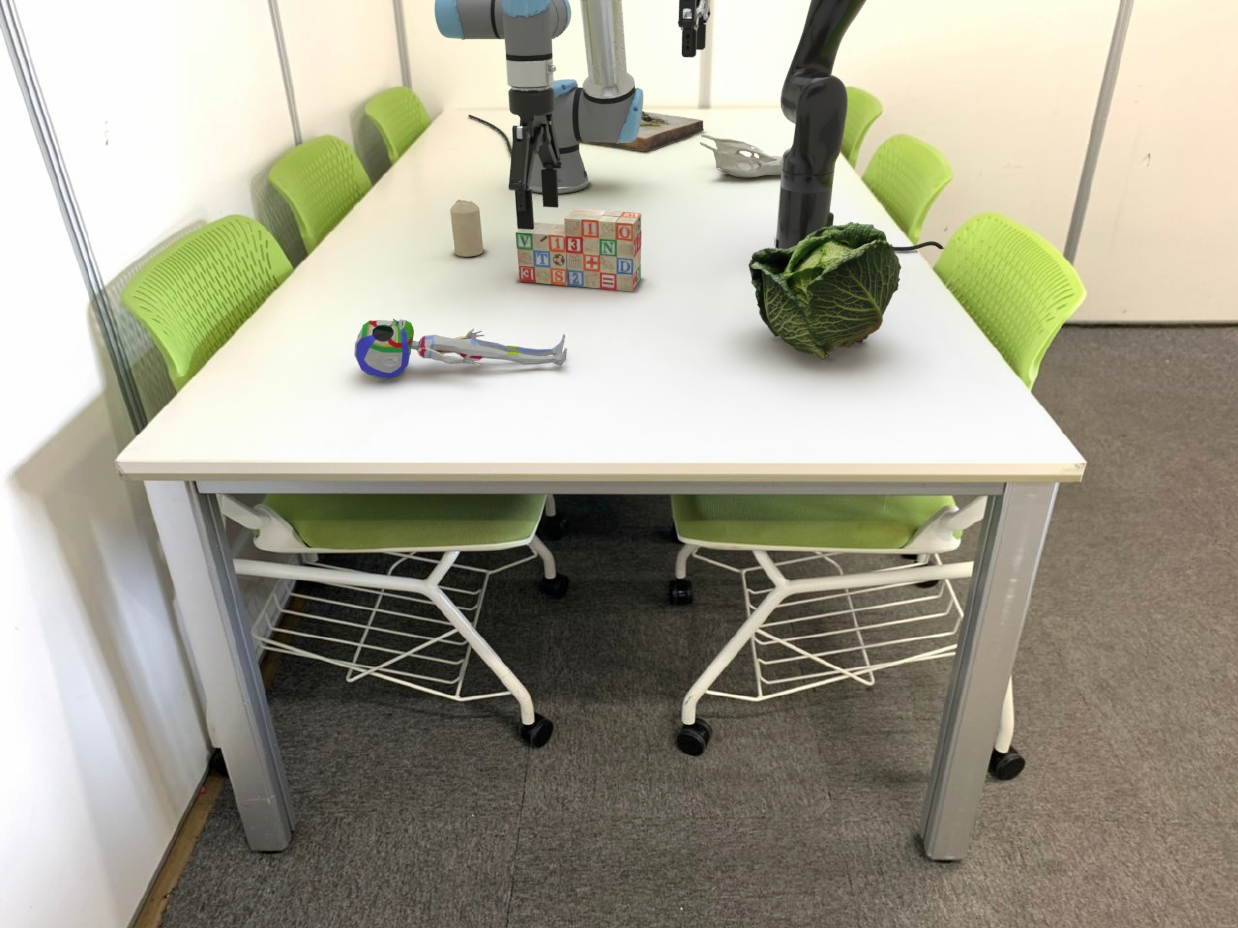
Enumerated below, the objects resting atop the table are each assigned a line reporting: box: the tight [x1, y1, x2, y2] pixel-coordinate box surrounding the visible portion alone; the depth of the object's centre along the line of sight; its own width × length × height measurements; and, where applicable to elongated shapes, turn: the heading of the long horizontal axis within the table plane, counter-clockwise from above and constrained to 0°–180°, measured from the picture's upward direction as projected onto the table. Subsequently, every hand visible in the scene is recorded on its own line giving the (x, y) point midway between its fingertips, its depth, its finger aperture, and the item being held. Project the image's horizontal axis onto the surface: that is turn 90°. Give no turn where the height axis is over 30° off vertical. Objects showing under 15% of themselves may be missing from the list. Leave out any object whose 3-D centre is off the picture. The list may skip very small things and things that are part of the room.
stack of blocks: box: [515, 207, 642, 293], centre depth 158 cm, size 21×6×12 cm, turn 76°
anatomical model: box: [699, 133, 783, 178], centre depth 218 cm, size 15×9×25 cm
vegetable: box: [748, 221, 902, 360], centre depth 132 cm, size 20×19×20 cm
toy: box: [353, 318, 568, 379], centre depth 130 cm, size 10×8×30 cm
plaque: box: [584, 110, 705, 152], centre depth 257 cm, size 30×7×30 cm
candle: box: [449, 199, 484, 258], centre depth 172 cm, size 6×6×10 cm
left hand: (538, 217), depth 157 cm, fingers open, 13 cm apart
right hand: (693, 53), depth 143 cm, fingers open, 8 cm apart
